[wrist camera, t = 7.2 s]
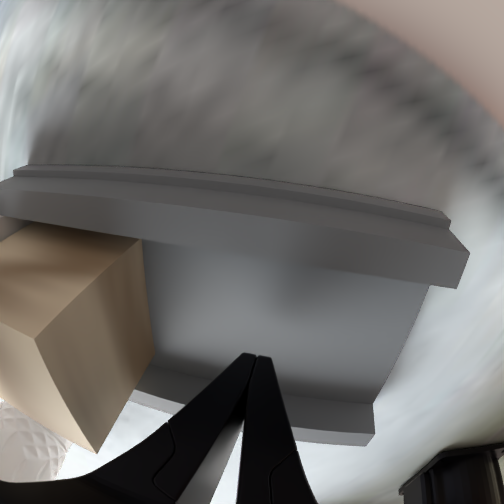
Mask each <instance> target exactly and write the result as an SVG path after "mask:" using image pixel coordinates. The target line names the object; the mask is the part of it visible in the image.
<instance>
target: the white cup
mask: <svg viewBox="0 0 504 504" xmlns="http://www.w3.org/2000/svg"><path fill="white" fill-rule="evenodd" d="M72 443H73V442H71V441H69V440H67V439H65V438H64V437H62V436H60V435H58V434H56V433H55V432H53V431H51V430H49V429H48V428H46V427H44V426H43V425H41V424H39V423H38V422H36V421H35V420H33V419H31V418H30V417H28V416H27V415H25V414H24V413H22V412H21V411H19V410H18V409H16V408H15V407H13V406H12V405H10V404H9V403H8V402H6V401H5V400H4V401H2V402H1V403H0V480H2V481H7V482H38V481H51V480H55V479H56V477H57V475H58V473H59V471H60V469H61V467H62V465H63V463H64V461H65V457H66V453H67V452H68V450H69V449H70V447H71V445H72Z"/></svg>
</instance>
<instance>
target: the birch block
mask: <svg viewBox="0 0 504 504" xmlns="http://www.w3.org/2000/svg"><path fill="white" fill-rule="evenodd" d="M154 355H155V349H154V342H153V336H152V329H151V322H150V315H149V307H148V299H147V291H146V282H145V272H144V261H143V250H142V239H138V238H132V237H126V236H120V235H114V234H108V233H102V232H96V231H90V230H84V229H78V228H72V227H66V226H60V225H54V224H48V223H42V222H36V221H34V222H33V223H31V224H29V225H27V226H26V227H24V228H22V229H21V230H19V231H17V232H16V233H14V234H12V235H11V236H9V237H7V238H6V239H4V240H3V241H1V242H0V397H1V398H2V399H3V400H5V401H6V402H8V403H9V404H10V405H12V406H13V407H15V408H16V409H18V410H19V411H21V412H22V413H24V414H25V415H27V416H28V417H30V418H31V419H33V420H35V421H36V422H38V423H39V424H41V425H43V426H44V427H46V428H48V429H49V430H51V431H53V432H55V433H56V434H58V435H60V436H62V437H64V438H65V439H67V440H69V441H71V442H73V443H75V444H77V445H79V446H81V447H83V448H85V449H87V450H89V451H91V452H93V453H95V454H97V453H98V452H99V450H100V448H101V446H102V444H103V443H104V441H105V439H106V437H107V436H108V434H109V432H110V430H111V429H112V427H113V425H114V423H115V422H116V420H117V418H118V416H119V415H120V413H121V411H122V409H123V408H124V406H125V404H126V402H127V401H128V399H129V397H130V396H131V394H132V392H133V390H134V389H135V387H136V385H137V384H138V382H139V380H140V379H141V377H142V375H143V373H144V372H145V370H146V368H147V367H148V365H149V363H150V362H151V360H152V358H153V357H154Z"/></svg>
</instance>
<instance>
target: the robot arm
mask: <svg viewBox="0 0 504 504" xmlns="http://www.w3.org/2000/svg"><path fill="white" fill-rule="evenodd" d="M243 422H244V426H243V436H242V446H241V456H240V466H239V476H238V486H237V495H236V504H318V503H317V501H316V499H315V497H314V495H313V492H312V490H311V488H310V485H309V483H308V481H307V478H306V475H305V472H304V469H303V466H302V463H301V460H300V456H299V453H298V451H297V446H296V443H295V439H294V436H293V432H292V429H291V425H290V421H289V418H288V414H287V411H286V407H285V404H284V400H283V396H282V393H281V389H280V386H279V382H278V378H277V375H276V371H275V368H274V364H273V360H272V358H271V357H269V356H263V355H258V356H256V354H252V353H246V352H243V353H241V354H240V355H239V356H238V357H237V358H236V359H235V360H234V361H233V362H232V363H231V364H230V365H229V366H228V367H227V368H226V369H225V370H223V371H222V372H221V373H220V374H219V375H218V376H217V377H216V378H215V379H214V380H213V381H212V382H211V383H209V384H208V385H207V386H206V387H205V388H204V389H203V390H202V391H201V392H200V393H199V394H197V395H196V396H195V397H194V398H193V399H192V400H191V401H190V402H188V403H187V404H186V405H185V406H184V407H183V408H182V409H181V410H179V411H178V412H177V413H176V414H175V415H174V416H173V417H171V418H170V419H169V420H168V423H167V422H166V423H164V424H163V425H162V426H161V427H160V428H159V429H157V430H156V431H155V432H154V433H152V434H151V435H150V436H149V437H147V438H146V439H145V440H143V441H142V442H140V443H139V444H137V445H136V446H134V447H133V448H131V449H130V450H128V451H127V452H125V453H123V454H122V455H120V456H118V457H117V458H115V459H113V460H112V461H110V462H108V463H107V464H105V465H103V466H101V467H100V468H98V469H96V470H94V471H92V472H91V473H88V474H86V475H83V476H80V477H76V478H71V479H62V480H51V481H38V482H7V481H2V480H0V504H210V502H211V499H212V497H213V495H214V493H215V490H216V488H217V486H218V483H219V481H220V479H221V476H222V474H223V472H224V469H225V467H226V465H227V462H228V460H229V458H230V455H231V453H232V450H233V448H234V445H235V443H236V440H237V438H238V436H239V433H240V431H241V428H242V425H243ZM503 455H504V443H501V444H496V445H490V446H484V447H478V448H471V449H463V450H454V451H446V452H442V453H440V454H438V455H437V456H436V457H435V458H434V459H433V460H432V461H431V462H430V463H429V464H428V465H426V466H425V467H424V468H423V469H422V470H421V471H420V472H419V473H418V474H416V475H415V476H414V477H413V478H412V479H411V480H409V481H408V482H407V483H406V484H405V485H403V486H402V487H401V488H400V489H399V495H404V504H504V485H503V480H502V475H501V471H500V467H499V462H498V459H499V458H500V457H501V456H503Z"/></svg>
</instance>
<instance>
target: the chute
mask: <svg viewBox="0 0 504 504" xmlns="http://www.w3.org/2000/svg"><path fill="white" fill-rule="evenodd" d="M13 174H14V176H13V177H11V178H8V179H6V180H4V181H1V182H0V242H1V241H3V240H4V239H6V238H7V237H9V236H11V235H12V234H14V233H16V232H17V231H19V230H21V229H22V228H24V227H26V226H27V225H29V224H31V223H33V222H34V221H36V222H42V223H48V224H54V225H60V226H66V227H72V228H78V229H84V230H90V231H96V232H102V233H108V234H114V235H120V236H126V237H132V238H138V239H142V250H143V261H144V272H145V282H146V291H147V299H148V307H149V315H150V322H151V329H152V336H153V342H154V349H155V355H154V357H153V358H152V360H151V362H150V363H149V365H148V367H147V368H146V370H145V372H144V373H143V375H142V377H141V379H140V380H139V382H138V384H137V385H136V387H135V389H134V390H133V392H132V394H131V396H130V397H129V399H128V400H129V401H132V402H135V403H138V404H141V405H144V406H147V407H150V408H153V409H156V410H159V411H162V412H166V413H169V414H172V415H175V414H176V413H177V412H178V411H179V410H181V409H182V408H183V407H184V406H185V405H186V404H187V403H188V402H190V401H191V400H192V399H193V398H194V397H195V396H196V395H197V394H199V393H200V392H201V391H202V390H203V389H204V388H205V387H206V386H207V385H208V384H209V383H211V382H212V381H213V380H214V379H215V378H216V377H217V376H218V375H219V374H220V373H221V372H222V371H223V370H225V369H226V368H227V367H228V366H229V365H230V364H231V363H232V362H233V361H234V360H235V359H236V358H237V357H238V356H239V355H240V354H241V353H243V352H246V353H252V354H256V356H258V355H263V356H269V357H271V358H272V360H273V364H274V368H275V371H276V375H277V378H278V382H279V386H280V389H281V393H282V396H283V400H284V404H285V407H286V411H287V414H288V418H289V421H290V425H291V429H292V432H293V436H294V439H295V441H303V442H312V443H322V444H333V445H348V446H367V444H368V443H369V442H370V440H371V439H372V438H373V436H374V435H375V426H374V413H373V402H374V401H375V399H376V397H377V396H378V394H379V392H380V390H381V388H382V387H383V385H384V383H385V381H386V379H387V377H388V376H389V374H390V372H391V370H392V368H393V366H394V364H395V362H396V360H397V358H398V356H399V354H400V352H401V350H402V348H403V346H404V344H405V342H406V340H407V338H408V335H409V333H410V331H411V329H412V327H413V324H414V322H415V320H416V318H417V315H418V313H419V311H420V308H421V306H422V303H423V301H424V298H425V296H426V293H427V291H428V288H429V286H430V285H434V286H440V287H447V288H454V289H457V286H458V284H459V281H460V279H461V276H462V274H463V271H464V268H465V266H466V263H467V260H468V258H469V255H470V252H469V251H468V250H467V249H466V248H465V247H464V245H463V244H462V243H461V242H460V241H459V240H458V239H457V238H456V237H455V235H454V234H453V233H452V232H451V231H450V230H449V227H450V223H451V220H450V219H449V218H448V217H447V216H446V215H445V214H443V213H442V212H441V211H437V210H433V209H428V208H424V207H420V206H415V205H410V204H406V203H401V202H396V201H391V200H386V199H381V198H376V197H371V196H366V195H360V194H355V193H349V192H343V191H338V190H332V189H326V188H319V187H313V186H307V185H300V184H293V183H286V182H279V181H272V180H264V179H256V178H248V177H239V176H231V175H221V174H212V173H201V172H190V171H179V170H166V169H151V168H135V167H115V166H87V165H26V166H23V167H20V168H18V169H15V170H13ZM243 426H244V422H243V425H242V428H241V432H243Z"/></svg>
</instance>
